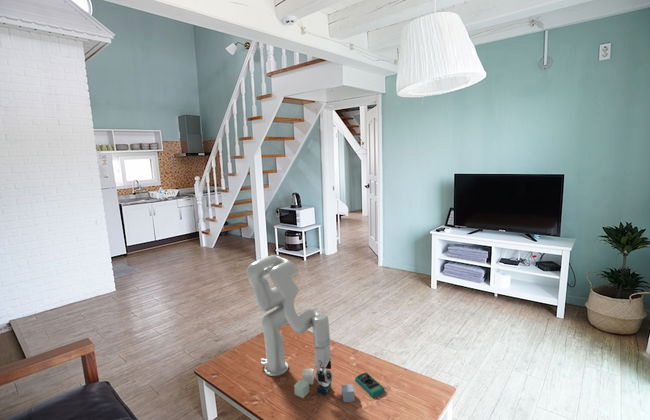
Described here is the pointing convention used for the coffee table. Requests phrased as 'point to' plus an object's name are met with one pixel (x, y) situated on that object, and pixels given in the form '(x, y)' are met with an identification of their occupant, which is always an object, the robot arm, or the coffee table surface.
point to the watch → (324, 386)
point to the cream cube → (308, 375)
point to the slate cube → (348, 393)
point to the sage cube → (301, 388)
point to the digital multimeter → (369, 384)
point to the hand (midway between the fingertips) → (324, 374)
